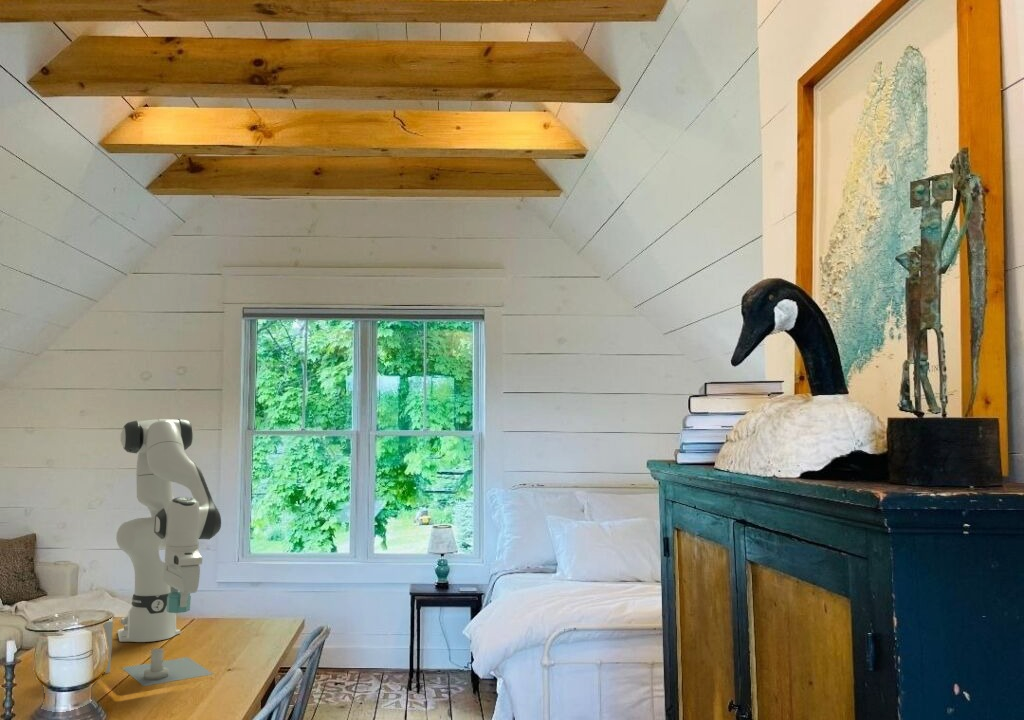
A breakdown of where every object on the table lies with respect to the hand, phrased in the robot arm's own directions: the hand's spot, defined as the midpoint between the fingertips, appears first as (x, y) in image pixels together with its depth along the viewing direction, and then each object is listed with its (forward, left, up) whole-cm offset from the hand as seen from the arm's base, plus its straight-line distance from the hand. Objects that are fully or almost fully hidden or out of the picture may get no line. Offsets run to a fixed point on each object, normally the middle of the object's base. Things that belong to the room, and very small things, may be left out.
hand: (178, 604), depth 230 cm
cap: (0, 0, -2) cm, 2 cm away
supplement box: (-8, -20, -18) cm, 28 cm away
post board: (+5, -4, -18) cm, 19 cm away
